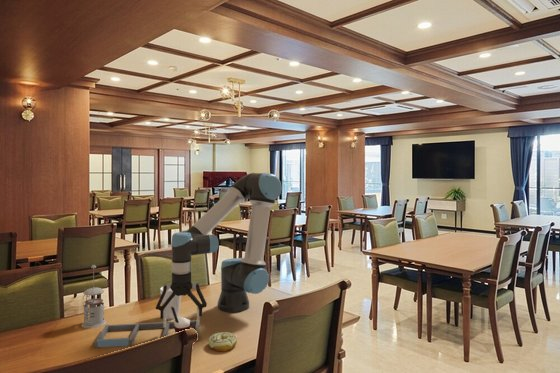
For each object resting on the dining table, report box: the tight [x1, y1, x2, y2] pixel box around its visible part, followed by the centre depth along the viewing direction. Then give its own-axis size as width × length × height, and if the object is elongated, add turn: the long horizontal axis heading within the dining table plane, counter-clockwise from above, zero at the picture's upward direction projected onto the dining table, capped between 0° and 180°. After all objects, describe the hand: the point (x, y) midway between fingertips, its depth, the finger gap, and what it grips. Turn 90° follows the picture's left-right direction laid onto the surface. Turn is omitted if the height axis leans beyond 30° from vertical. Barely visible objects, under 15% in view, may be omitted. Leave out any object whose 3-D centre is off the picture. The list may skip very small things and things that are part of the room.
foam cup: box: [159, 285, 182, 320], centre depth 178 cm, size 10×9×13 cm
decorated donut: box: [208, 331, 238, 352], centre depth 149 cm, size 10×11×4 cm
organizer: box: [93, 319, 200, 349], centre depth 157 cm, size 37×17×2 cm, turn 99°
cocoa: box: [171, 307, 192, 332], centre depth 159 cm, size 10×6×12 cm, turn 119°
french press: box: [81, 264, 107, 329], centre depth 169 cm, size 10×12×25 cm
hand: (181, 325), depth 159 cm, fingers open, 12 cm apart
